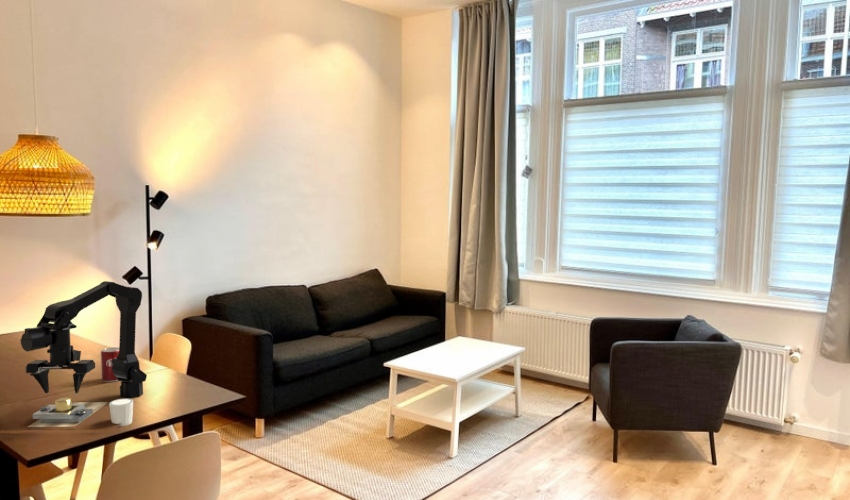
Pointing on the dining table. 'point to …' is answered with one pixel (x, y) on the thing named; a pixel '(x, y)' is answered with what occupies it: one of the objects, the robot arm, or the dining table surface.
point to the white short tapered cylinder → (121, 411)
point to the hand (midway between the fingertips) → (62, 392)
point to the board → (88, 405)
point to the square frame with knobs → (62, 414)
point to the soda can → (108, 363)
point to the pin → (63, 405)
